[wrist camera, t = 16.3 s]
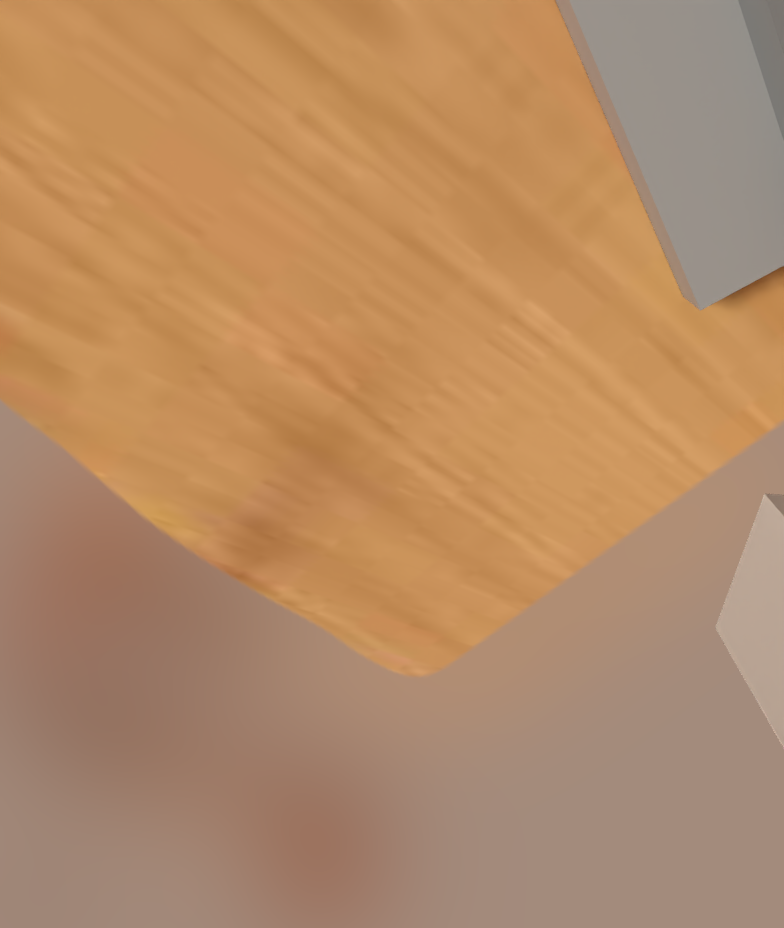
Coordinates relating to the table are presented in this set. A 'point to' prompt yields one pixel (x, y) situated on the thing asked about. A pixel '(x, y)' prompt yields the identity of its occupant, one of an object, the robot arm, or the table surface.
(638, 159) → the dock
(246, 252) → the table surface
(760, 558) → the robot arm
